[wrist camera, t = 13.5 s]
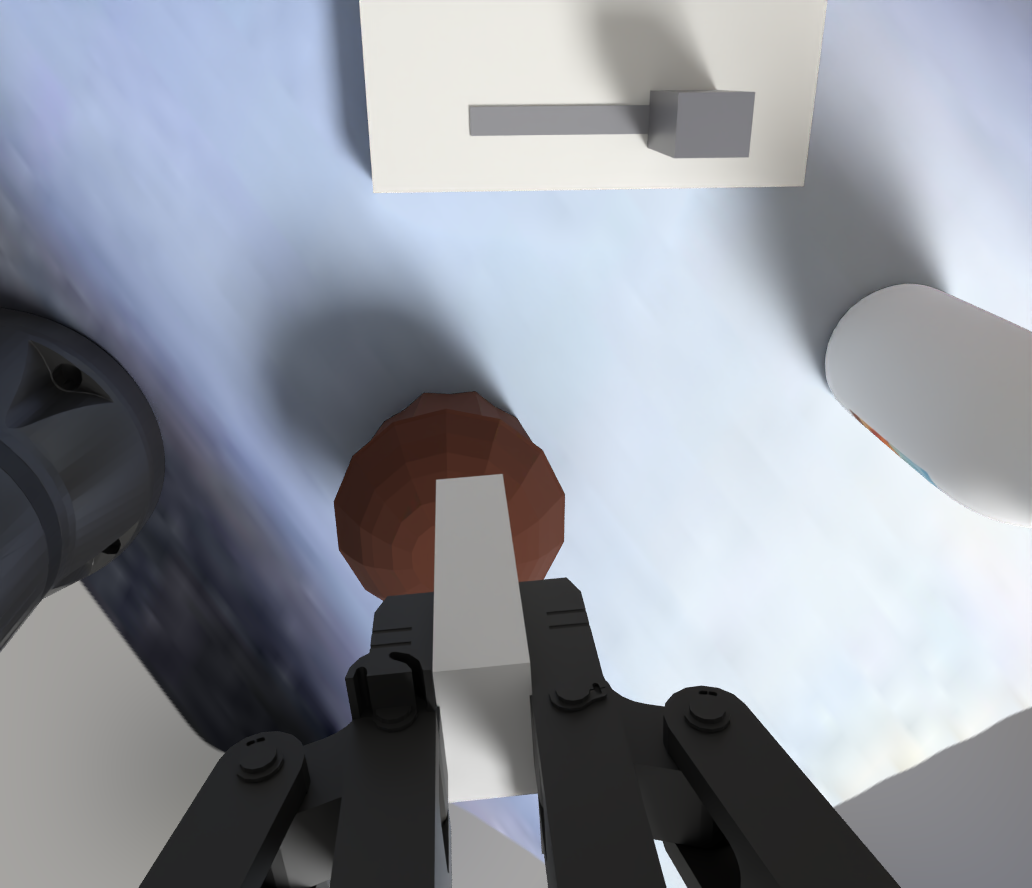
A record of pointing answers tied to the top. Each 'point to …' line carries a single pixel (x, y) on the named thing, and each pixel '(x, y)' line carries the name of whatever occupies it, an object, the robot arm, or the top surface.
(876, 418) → the milk bottle
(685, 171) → the white slider panel
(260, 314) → the top surface
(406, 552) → the muffin
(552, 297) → the top surface
